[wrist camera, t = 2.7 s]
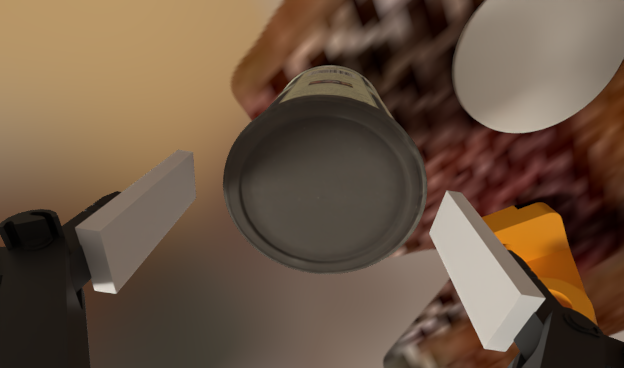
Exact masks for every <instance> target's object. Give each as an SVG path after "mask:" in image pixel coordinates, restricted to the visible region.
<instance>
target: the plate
mask: <svg viewBox="0 0 624 368" xmlns="http://www.w3.org/2000/svg"><path fill="white" fill-rule="evenodd" d="M623 58H624V0H484V1H483V2H482V3H481V4H480V5H479V7H478V8H477V9H476V10H475V11H474V13H473V14H472V16H471V17H470V19H469V20H468V22H467V23H466V25H465V27H464V29H463V31H462V32H461V35H460V37H459V40H458V42H457V45H456V48H455V52H454V55H453V62H452V83H453V88H454V91H455V95H456V97H457V99H458V101H459V103H460V105H461V106H462V108H463V109H464V110H465V111H466V112H467V113H468V114H469V115H470V116H471V117H472V118H474V119H475V120H477V121H478V122H480V123H481V124H483V125H485V126H487V127H489V128H491V129H494V130H497V131H502V132H508V133H525V132H532V131H537V130H541V129H544V128H547V127H550V126H552V125H555V124H557V123H559V122H561V121H563V120H565V119H567V118H569V117H570V116H572V115H574V114H575V113H577V112H578V111H579V110H581V109H582V108H584V107H585V106H586V105H587V104H588V103H590V102H591V101H592V100H593V99H594V98H595V97H596V96H597V95H598V94H599V93H600V92H601V91H602V90H603V89H604V88H605V86H606V85H607V84H608V83H609V81H610V80H611V79H612V77H613V76H614V74H615V73H616V71H617V70H618V68H619V66H620V64H621V62H622V60H623Z"/></svg>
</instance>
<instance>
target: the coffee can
mask: <svg viewBox="0 0 624 368" xmlns="http://www.w3.org/2000/svg"><path fill="white" fill-rule="evenodd" d="M223 188H224V189H223V190H224V198H225V202H226V206H227V209H228V212H229V214H230V216H231V218H232V220H233V222H234V224H235V225H236V227H237V229H238V230H239V232H240V233H241V234H242V235H243V236H244V237H245V239H246V240H247V241H248V242H249V243H250V244H251V245H252V246H253V247H254V248H255V249H256V250H258V251H259V252H260V253H262V254H263V255H264V256H266V257H268V258H269V259H271V260H273V261H275V262H277V263H279V264H281V265H284V266H286V267H288V268H292V269H295V270H299V271H303V272H309V273H315V274H340V273H346V272H352V271H356V270H360V269H363V268H366V267H369V266H371V265H373V264H376V263H377V262H379V261H381V260H383V259H385V258H386V257H388V256H389V255H391V254H392V253H394V252H395V251H396V250H397V249H398V248H400V247H401V246H402V245H403V244H404V243H405V241H406V240H407V239H408V238H409V237H410V236H411V234H412V233H413V231H414V230H415V228H416V227H417V225H418V223H419V220H420V218H421V216H422V213H423V210H424V207H425V203H426V197H427V178H426V171H425V167H424V163H423V160H422V157H421V155H420V153H419V150H418V148H417V147H416V145H415V144H414V142H413V141H412V139H411V138H410V137H409V135H408V134H407V133H406V131H405V130H404V129H403V128H402V127H401V126H400V125H399V124H398V123H397V122H396V121H395V120H394V118H393V117H392V115H391V114H390V112H389V111H388V109H387V108H386V106H385V105H384V103H383V102H382V100H381V98H380V96H379V95H378V93H377V91H376V89H375V88H374V86H373V85H372V84H371V83H370V82H369V81H368V80H367V79H366V78H365V77H364V76H362V75H361V74H359V73H358V72H356V71H354V70H352V69H350V68H346V67H342V66H335V65H325V66H319V67H314V68H311V69H309V70H306V71H304V72H302V73H301V74H299V75H298V76H296V77H295V78H294V79H293V80H292V81H291V82H290V83H289V84H288V85H287V86H286V88H285V89H284V91H283V92H282V93H281V94H280V95H279V96H278V97H277V99H276V100H275V101H274V102H273V103H272V104H271V105H270V106H269V107H268V108H267V109H266V110H265V111H264V112H263V113H261V114H260V115H259V116H258V117H256V118H255V119H254V120H253V121H252V122H250V123H249V124H248V125H247V126H246V128H245V129H244V130H243V131H242V132H241V133H240V135H239V136H238V138H237V139H236V141H235V142H234V144H233V146H232V147H231V150H230V152H229V155H228V157H227V161H226V165H225V169H224V177H223Z"/></svg>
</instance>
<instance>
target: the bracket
mask: <svg viewBox="0 0 624 368" xmlns="http://www.w3.org/2000/svg"><path fill="white" fill-rule="evenodd" d="M482 219H483V220H484V222H485V223H486V224H487V225H488V227H489V228H490V229H491V230H492V232H493V233H494V234H495V235H496V237H497V238H498V239H499V240H500V242H501V243H502V244H503V245H504V247H505V248H506V249H507V250H512V251H513V252H514V253H515V254H517V255H518V256H519V257H521V258H522V259H523V260H524V261H525V262H526V264H527V265H528V266H529V267H530V268H531V271H533V272H534V273H535V274H536V275H537V277H538V279H540V280H541V281H542V283H543V284H544V285H545V286H546V287H547V289H548V290H549V291H550V292H551V293H552V295H553V296H554V297H555V298H556V299H557V301H558V302H559V303H560V304H561V305H562V306H563V307H567V308H571V309H573V310H575V311H577V312H580V313H581V314H583V315H584V316H586V317H587V318H589V319H590V320H591V321H592V322H594V323H595V324H596V325H597V322H596V318H595V314H594V310H593V306H592V304H591V302H590V300H589V299H588V297H587V295H586V293H585V290H584V287H583V284H582V281H581V279H580V276H579V273H578V270H577V268H576V265H575V262H574V259H573V257H572V254H571V251H570V248H569V244H568V241H567V237H566V233H565V229H564V226H563V222H562V218H561V216H560V215H559V214H558V213H557V212H555V211H554V210H553V209H552V208H550V207H549V206H548V205H547V204H545V203H542V202H538V203H534V204H532V205H529V206H526V207H523V208H521V209H517V208H516V207H515V206H511V207H508V208H506V209H503V210H500V211H498V212H495V213H492V214H490V215H487V216H484V217H482Z"/></svg>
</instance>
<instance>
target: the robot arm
mask: <svg viewBox="0 0 624 368" xmlns="http://www.w3.org/2000/svg"><path fill="white" fill-rule="evenodd" d="M195 198H196V191H195V176H194V160H193V152H190V151H182V150H177V151H176V152H175V153H173V154H172V155H170V156H169V157H168V158H167V159H165V160H164V161H163V162H161V163H160V164H159V165H157V166H156V167H155V168H153V169H152V170H151V171H149V172H148V173H147V174H145V175H144V176H143V177H142V178H140V179H139V180H137V181H136V182H135V183H134V184H132V185H131V186H129V187H128V188H127V189H125V190H124V191H123V192H118V191H117V192H114V193H111V194H109V195H106V196H104V197H102V198H101V199H99V200H98V201H97V202H95V203H94V204H93V206H92V205H91V206H89V207H88V208H87V209H85V211H84V212H83V211H82V212H81V213H80V214H78V215H77V216H76V217H74V218H73V219H71V220H70V221H69V222H67V223H66V224H64V225H63V226H61V224H60V221H59V218H58V215H57V213H56V212H54V211H51V210H44V209H40V210H30V211H26V212H22V213H18V214H16V215H14V216H11V217H9V218H7V219H6V220H4V221H3V222H1V223H0V235H1V237H2V239H3V241H4V243H5V246H6V247H0V368H90V355H89V343H88V331H87V319H86V308H85V296H84V291H83V288H82V287H83V286H84V285H85V284H86V283H87V282H88V281H89V280H90V279H91V281H92V284H93V287H94V290H95V291H101V292H108V293H115V294H116V293H117V292H118V291H119V289H121V287H122V286H123V285H124V284H125V283H126V281H127V280H128V279H129V278H130V277H131V275H132V274H133V273H134V272H135V271H136V269H137V268H138V267H139V266H140V265H141V263H142V262H143V261H144V260H145V259H146V257H147V256H148V255H149V254H150V253H151V251H152V250H153V249H154V248H155V247H156V245H157V244H158V243H159V242H160V241H161V239H162V238H163V237H164V236H165V234H166V233H167V232H168V231H169V230H170V229H171V227H172V226H173V225H174V223H176V221H177V220H178V219H179V218H180V217H181V215H182V214H183V213H184V212H185V210H186V209H187V208H188V207H189V206H190V204H191V203H192V202H193V201H194V200H195ZM429 234H430V236H431V238H432V240H433V242H434V244H435V247H436V249H437V251H438V253H439V255H440V257H441V259H442V261H443V263H444V265H445V267H446V270H447V271H448V274H449V276H450V278H451V280H452V282H453V284H454V286H455V288H456V290H457V293H458V295H459V297H460V299H461V301H462V303H463V305H464V307H465V309H466V311H467V313H468V316H469V318H470V320H471V322H472V324H473V326H474V328H475V330H476V332H477V334H478V336H479V339H480V341H481V343H482V345H483V347H484V349H490V350H497V351H504V352H506V351H507V349H508V348H509V347H510V345H511V344H512V343H513V341H514V342H515V343H516V345H517V347H518V348H519V350H520V352H519V354H518V355H517V356H516V357H515V359H514V360H513V361H512V362H511V364H510V365H509V366H508V367H507V368H624V342H622V341H619V340H617V339H614V338H611V337H609V336H606V335H603V332H602V331H601V330H600V329H599V327H598V326H597V325H596V324H595V323H594V322H592V321H591V320H590V319H589V318H587V317H586V316H584V315H583V314H581V313H580V312H577V311H575V310H573V309H571V308H567V307H563V306H562V305H561V304H560V303H559V302H558V301H557V299H556V298H555V297H554V296H553V295H552V293H551V292H550V291H549V290H548V289H547V287H546V286H545V285H544V284H543V283H542V281H541V280H540V279H538V277H537V275H536V274H535V273H534V272H533V271H531V268H530V267H529V266H528V265H527V264H526V262H525V261H524V260H523V259H522V258H521V257H519V256H518V255H517V254H515V253H514V252H513V251H512V250H507V249H506V248H505V247H504V245H503V244H502V243H501V242H500V240H499V239H498V238H497V237H496V235H495V234H494V233H493V232H492V230H491V229H490V228H489V227H488V225H487V224H486V223H485V222H484V220H483V219H482V218H481V217H480V215H479V214H478V213H477V212H476V210H475V209H474V208H473V207H472V205H471V204H470V203H469V202H468V200H467V199H466V198H465V197H464V195H463V194H462V193H459V192H453V191H446V193H445V196H444V198H443V201H442V203H441V206H440V208H439V210H438V213H437V215H436V218H435V220H434V223H433V225H432V227H431V230H430V232H429Z"/></svg>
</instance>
